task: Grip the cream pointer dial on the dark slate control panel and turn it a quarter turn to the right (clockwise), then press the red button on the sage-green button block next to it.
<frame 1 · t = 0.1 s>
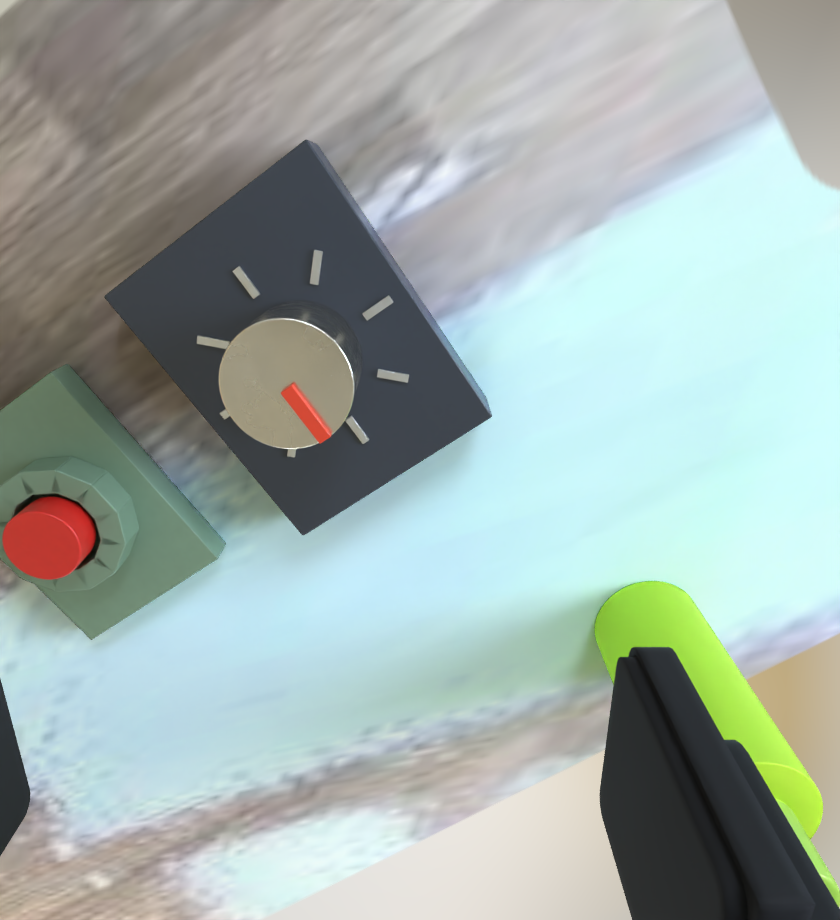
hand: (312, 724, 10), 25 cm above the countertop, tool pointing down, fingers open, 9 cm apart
button block: (87, 502, 37), on the countertop
button: (50, 537, 33), point 4 cm above the countertop, slide at 0.1 cm
dial: (295, 372, 28), point 5 cm above the countertop, hinge at 0.0°
soap dispenser: (650, 628, 40), on the countertop
dial panel: (313, 344, 33), on the countertop
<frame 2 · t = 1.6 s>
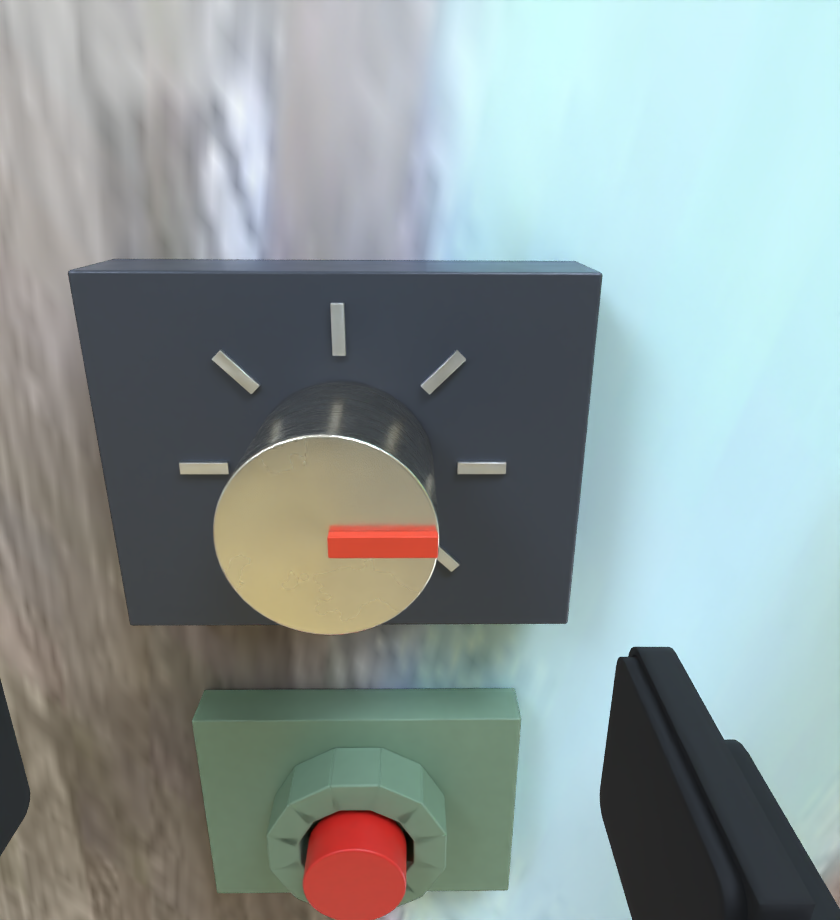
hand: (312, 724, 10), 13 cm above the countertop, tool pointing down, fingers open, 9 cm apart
button block: (362, 776, 28), on the countertop
button: (356, 864, 25), point 4 cm above the countertop, slide at 0.1 cm
dial: (335, 502, 18), point 5 cm above the countertop, hinge at 0.0°
dial panel: (351, 432, 23), on the countertop
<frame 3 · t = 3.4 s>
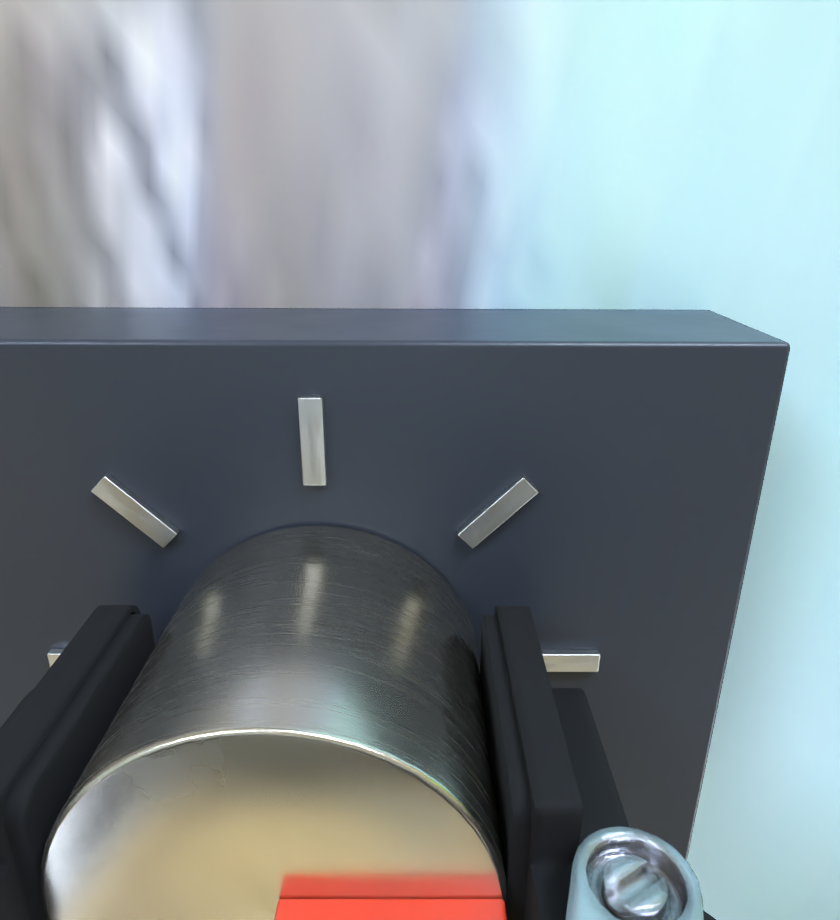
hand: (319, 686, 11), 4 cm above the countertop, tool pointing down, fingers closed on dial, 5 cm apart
dial: (303, 767, 10), point 5 cm above the countertop, hinge at 0.1°, touching gripper
dial panel: (343, 568, 15), on the countertop
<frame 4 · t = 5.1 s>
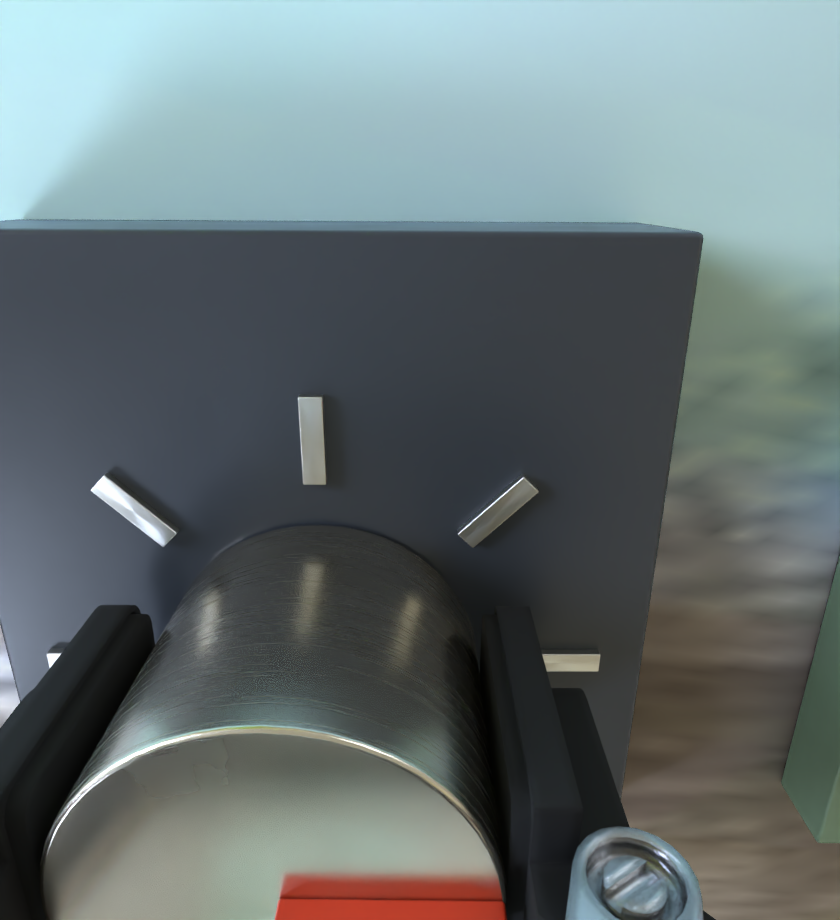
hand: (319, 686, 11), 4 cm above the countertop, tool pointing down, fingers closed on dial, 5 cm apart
dial: (303, 767, 10), point 5 cm above the countertop, hinge at -90.9°, touching gripper
dial panel: (342, 568, 15), on the countertop
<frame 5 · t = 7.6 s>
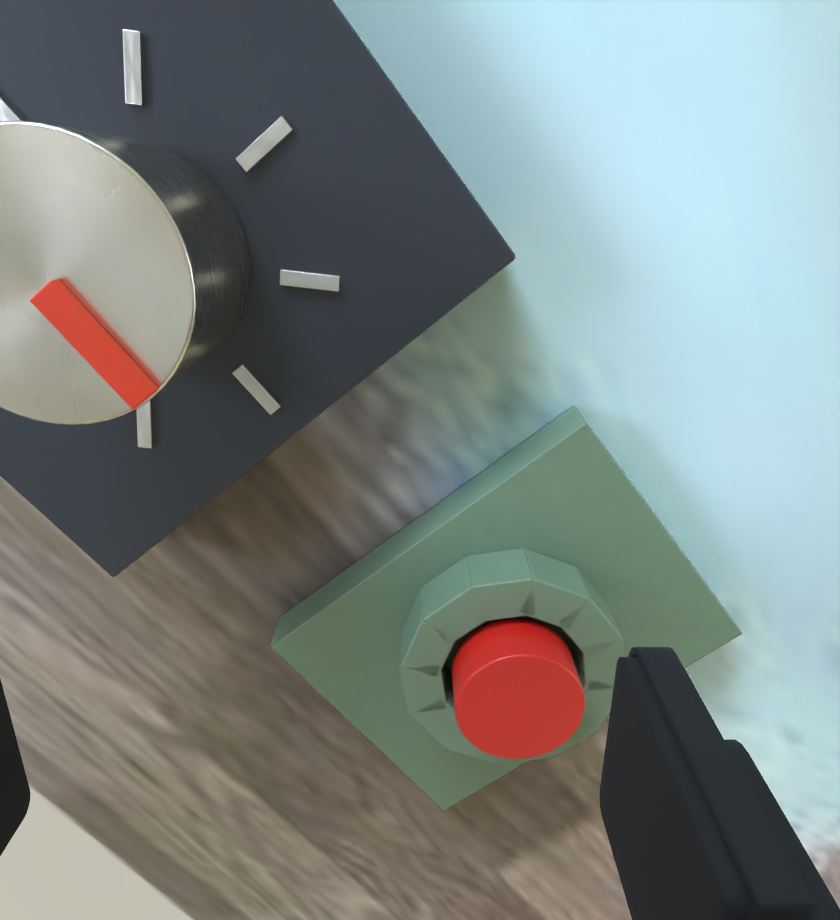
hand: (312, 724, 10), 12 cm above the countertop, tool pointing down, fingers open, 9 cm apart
button block: (500, 610, 23), on the countertop
button: (516, 688, 20), point 4 cm above the countertop, slide at 0.1 cm
dial: (96, 271, 14), point 5 cm above the countertop, hinge at -91.7°
dial panel: (180, 249, 19), on the countertop
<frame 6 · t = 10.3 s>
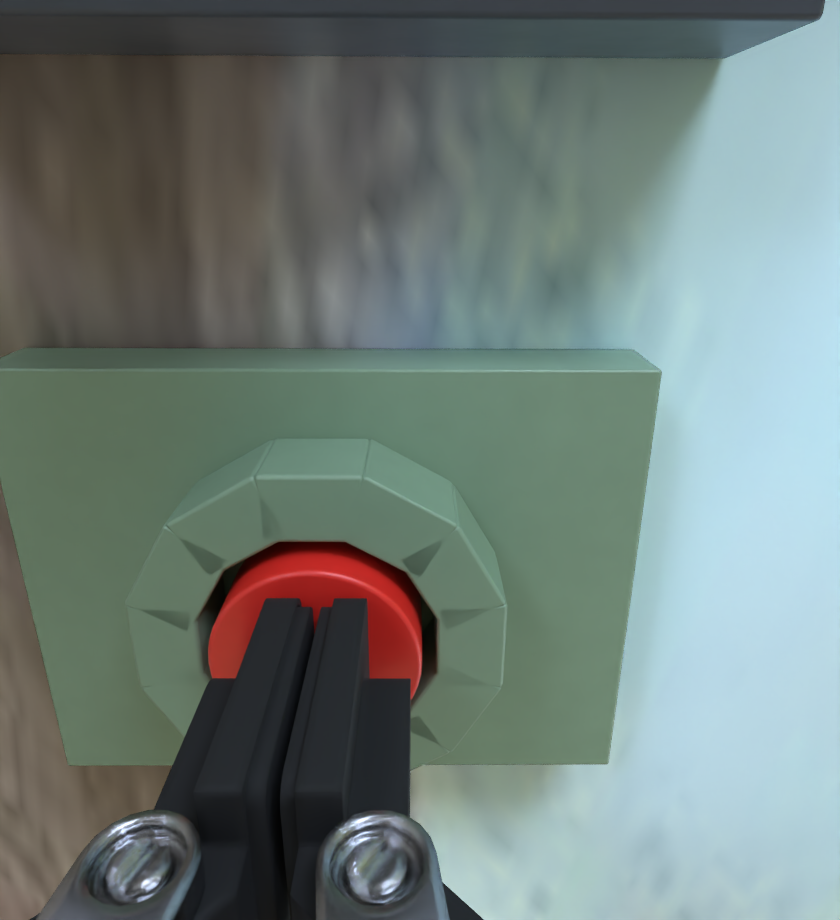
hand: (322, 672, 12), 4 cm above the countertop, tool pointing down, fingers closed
button block: (338, 549, 15), on the countertop
button: (321, 634, 12), point 3 cm above the countertop, slide at -0.8 cm, touching gripper
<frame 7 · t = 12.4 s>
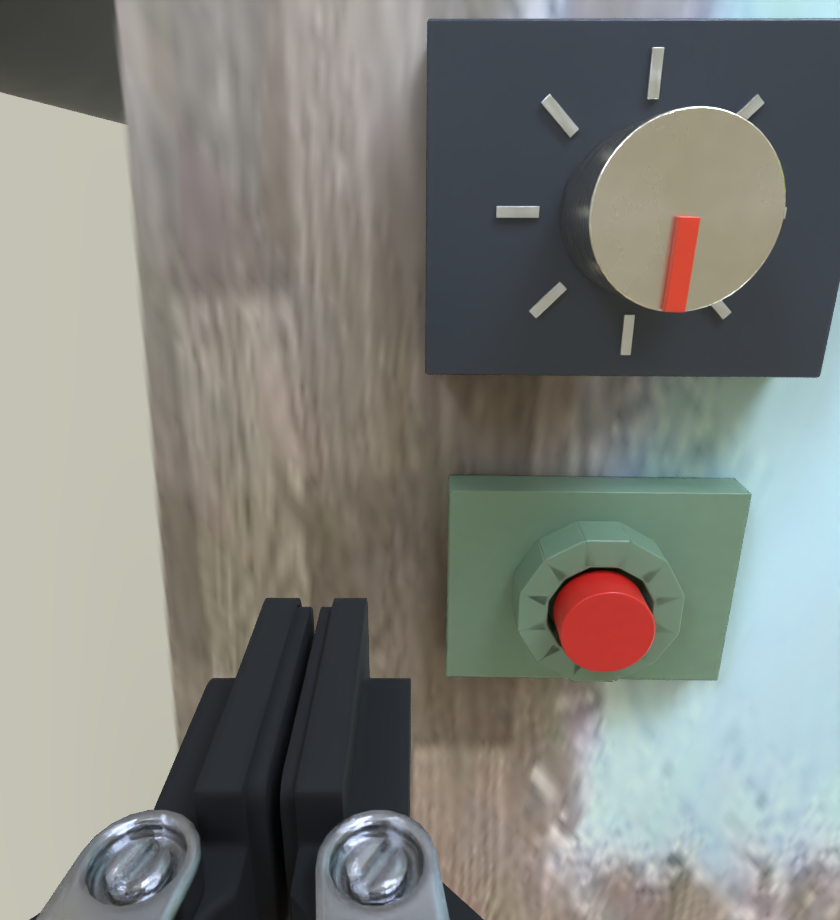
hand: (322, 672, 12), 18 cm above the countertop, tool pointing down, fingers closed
button block: (582, 570, 31), on the countertop
button: (602, 620, 27), point 4 cm above the countertop, slide at 0.1 cm
dial: (662, 213, 20), point 5 cm above the countertop, hinge at -91.7°
dial panel: (616, 211, 25), on the countertop
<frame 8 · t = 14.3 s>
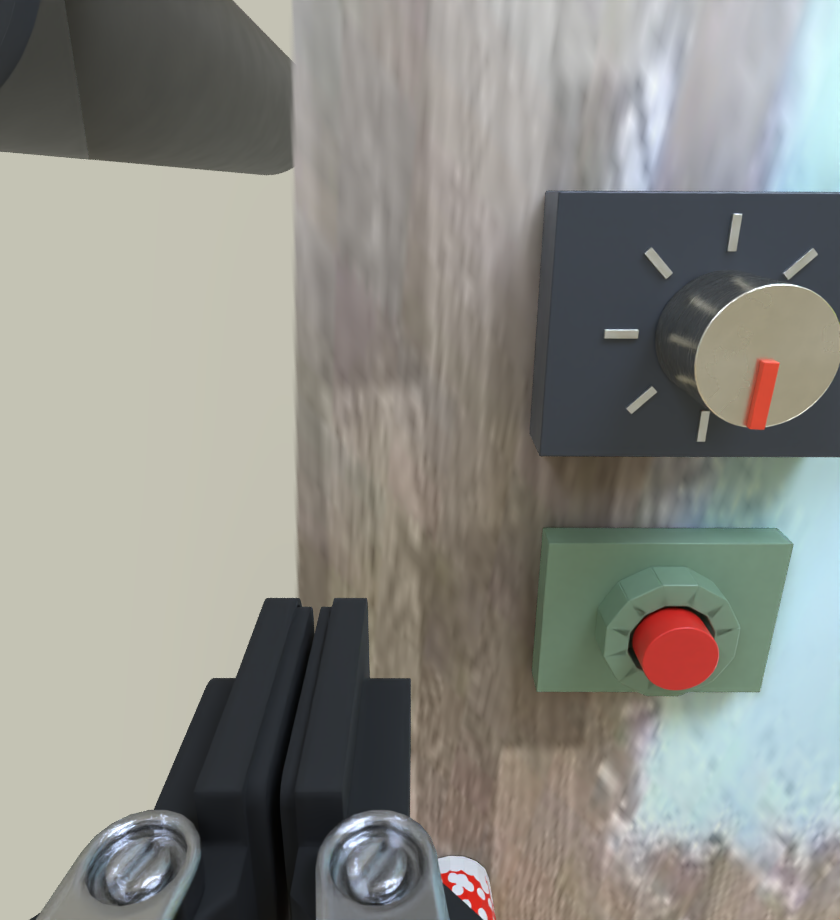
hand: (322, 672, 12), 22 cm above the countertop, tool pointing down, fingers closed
button block: (649, 602, 37), on the countertop
button: (674, 648, 33), point 4 cm above the countertop, slide at 0.1 cm
dial: (742, 346, 26), point 5 cm above the countertop, hinge at -91.7°
dial panel: (690, 321, 31), on the countertop
beverage cup: (453, 878, 45), on the countertop
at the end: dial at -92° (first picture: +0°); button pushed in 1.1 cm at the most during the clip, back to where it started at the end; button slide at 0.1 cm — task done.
